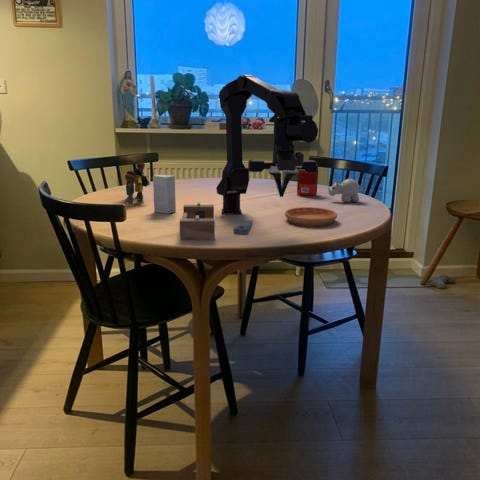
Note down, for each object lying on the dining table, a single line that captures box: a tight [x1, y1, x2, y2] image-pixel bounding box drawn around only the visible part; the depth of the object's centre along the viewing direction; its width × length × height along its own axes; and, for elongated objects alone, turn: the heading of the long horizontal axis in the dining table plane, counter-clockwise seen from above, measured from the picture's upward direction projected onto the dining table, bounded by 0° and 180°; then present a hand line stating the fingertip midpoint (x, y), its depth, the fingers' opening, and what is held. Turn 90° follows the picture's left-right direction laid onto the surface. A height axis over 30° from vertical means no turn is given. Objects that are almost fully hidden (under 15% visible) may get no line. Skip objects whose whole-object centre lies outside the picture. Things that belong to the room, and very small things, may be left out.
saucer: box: [284, 206, 338, 227], centre depth 141 cm, size 16×16×3 cm
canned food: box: [296, 169, 319, 197], centre depth 182 cm, size 8×8×11 cm
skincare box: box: [152, 174, 177, 215], centre depth 149 cm, size 6×4×12 cm
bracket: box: [233, 219, 253, 235], centre depth 130 cm, size 4×10×2 cm, turn 172°
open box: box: [179, 201, 216, 241], centre depth 128 cm, size 21×9×6 cm, turn 4°
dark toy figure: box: [124, 162, 151, 207], centre depth 166 cm, size 23×9×13 cm, turn 18°
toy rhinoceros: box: [327, 178, 360, 203], centre depth 171 cm, size 7×12×8 cm, turn 95°
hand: (281, 196), depth 128 cm, fingers closed
